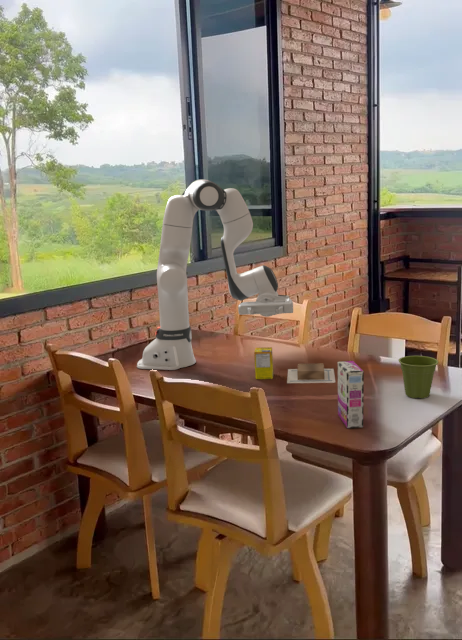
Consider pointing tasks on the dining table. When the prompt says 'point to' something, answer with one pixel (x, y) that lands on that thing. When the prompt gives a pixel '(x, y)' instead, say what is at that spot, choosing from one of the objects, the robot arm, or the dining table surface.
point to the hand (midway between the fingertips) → (264, 312)
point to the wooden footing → (310, 371)
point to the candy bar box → (350, 394)
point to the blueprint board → (328, 378)
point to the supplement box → (263, 363)
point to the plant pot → (418, 375)
